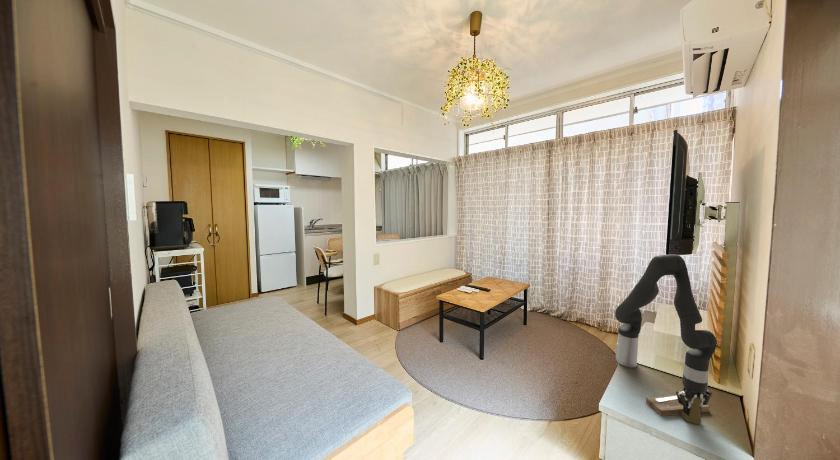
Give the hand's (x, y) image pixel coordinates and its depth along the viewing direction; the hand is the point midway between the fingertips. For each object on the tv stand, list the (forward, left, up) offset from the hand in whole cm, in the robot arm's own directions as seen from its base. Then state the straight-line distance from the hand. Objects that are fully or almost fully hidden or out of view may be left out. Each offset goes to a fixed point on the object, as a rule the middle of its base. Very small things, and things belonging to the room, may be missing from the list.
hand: (691, 413), depth 121 cm
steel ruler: (-9, 0, -1) cm, 9 cm away
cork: (0, 0, -2) cm, 2 cm away
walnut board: (-7, +1, -3) cm, 8 cm away
